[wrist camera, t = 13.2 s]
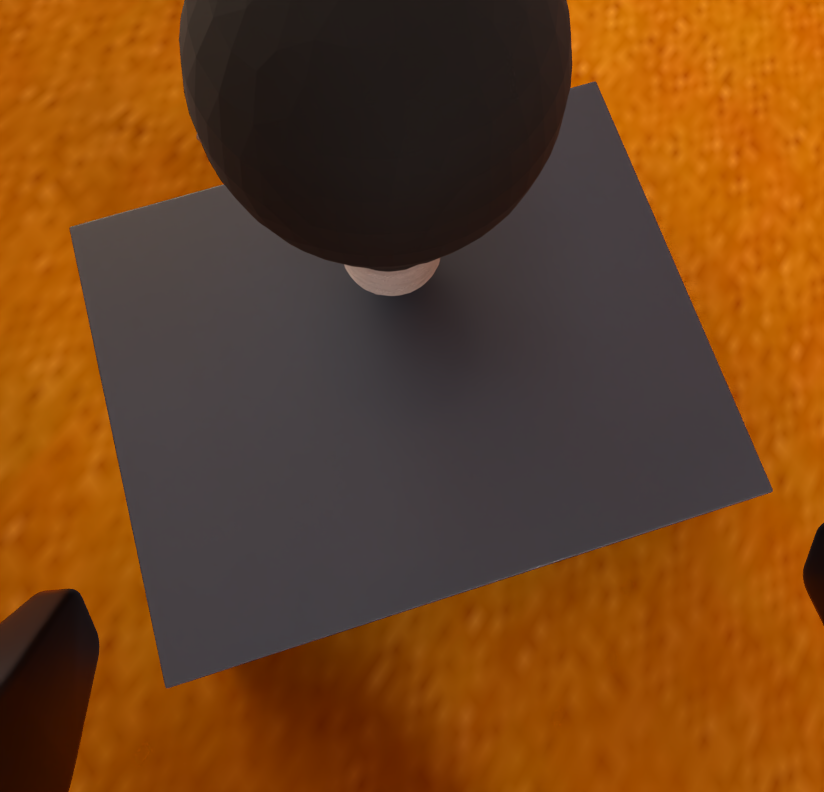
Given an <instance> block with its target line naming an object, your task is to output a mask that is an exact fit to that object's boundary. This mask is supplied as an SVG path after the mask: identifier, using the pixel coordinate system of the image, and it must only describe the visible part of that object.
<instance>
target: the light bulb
mask: <svg viewBox="0 0 824 792" xmlns="http://www.w3.org/2000/svg"><path fill="white" fill-rule="evenodd" d="M179 43H180V56H181V67H182V76H183V85H184V93H185V98H186V102H187V106H188V110H189V114H190V117H191V119H192V122H193V124H194V126H195V129H196V131H197V134H198V136H199V139H200V141H201V143H202V146H203V148H204V150H205V152H206V155H207V157H208V159H209V161H210V163H211V165H212V166H213V168H214V170H215V171H216V173H217V175H218V176H219V178H220V180H221V181H222V182H223V183H224V185H225V186H226V187H227V188H228V190H229V191H230V192H231V193H232V195H233V196H234V197H235V198H236V199H237V200H238V201H239V203H240V204H241V205H242V206H243V207H244V208H245V209H246V210H247V211H248V212H249V213H250V214H251V215H252V216H253V217H254V218H255V219H256V220H257V221H258V222H259V223H261V224H262V225H263V226H265V227H266V228H268V229H269V230H271V231H272V232H273V233H275V234H276V235H278V236H279V237H280V238H282V239H283V240H285V241H286V242H287V243H289V244H290V245H292V246H294V247H296V248H298V249H300V250H302V251H304V252H307V253H309V254H312V255H314V256H317V257H319V258H322V259H324V260H328V261H332V262H336V263H340V264H344V265H345V268H346V270H347V272H348V273H349V275H350V276H351V278H352V279H353V280H354V281H355V282H356V283H357V284H358V285H359V286H361V287H362V288H363V289H365V290H367V291H369V292H372V293H374V294H378V295H385V296H399V295H404V294H407V293H411V292H413V291H415V290H416V289H418V288H420V287H422V286H423V285H424V284H425V283H426V282H427V281H428V280H429V279H430V278H431V277H432V276H433V274H434V272H435V270H436V269H437V267H438V265H439V262H440V258H441V257H443V256H446V255H449V254H451V253H453V252H455V251H457V250H459V249H461V248H463V247H465V246H467V245H468V244H470V243H472V242H474V241H476V240H477V239H479V238H481V237H482V236H484V235H485V234H486V233H488V232H489V231H490V230H492V229H493V228H494V227H495V226H496V225H497V224H499V223H500V222H501V221H502V220H503V219H504V218H506V217H507V216H508V215H509V214H510V213H511V212H512V211H513V209H514V208H515V207H516V206H517V204H518V203H519V202H520V201H521V199H522V198H523V197H524V196H525V195H526V193H527V192H528V191H529V189H530V188H531V186H532V185H533V183H534V182H535V180H536V179H537V177H538V176H539V174H540V173H541V171H542V169H543V167H544V166H545V164H546V162H547V160H548V159H549V157H550V155H551V153H552V150H553V147H554V145H555V142H556V140H557V137H558V135H559V131H560V127H561V123H562V120H563V116H564V112H565V108H566V104H567V99H568V95H569V91H570V86H571V73H572V51H571V30H570V18H569V10H568V5H567V1H566V0H185V1H184V6H183V10H182V14H181V21H180V35H179Z"/></svg>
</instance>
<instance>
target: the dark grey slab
mask: <svg viewBox="0 0 824 792" xmlns="http://www.w3.org/2000/svg"><path fill="white" fill-rule="evenodd" d="M70 233H71V238H72V242H73V247H74V252H75V257H76V262H77V266H78V271H79V276H80V281H81V285H82V290H83V295H84V300H85V305H86V309H87V314H88V319H89V324H90V329H91V333H92V338H93V343H94V348H95V352H96V357H97V362H98V367H99V372H100V376H101V381H102V386H103V391H104V396H105V400H106V405H107V410H108V415H109V420H110V424H111V429H112V434H113V439H114V443H115V448H116V453H117V458H118V463H119V467H120V472H121V477H122V482H123V487H124V491H125V496H126V501H127V506H128V510H129V515H130V520H131V525H132V530H133V534H134V539H135V544H136V549H137V554H138V558H139V563H140V568H141V573H142V578H143V582H144V587H145V592H146V597H147V601H148V606H149V611H150V616H151V621H152V625H153V630H154V635H155V640H156V645H157V649H158V654H159V659H160V664H161V668H162V673H163V678H164V683H165V687H166V688H170V687H173V686H176V685H180V684H183V683H186V682H189V681H192V680H195V679H198V678H201V677H204V676H207V675H210V674H213V673H216V672H220V671H223V670H226V669H229V668H232V667H235V666H238V665H241V664H244V663H247V662H250V661H253V660H257V659H260V658H263V657H266V656H269V655H272V654H275V653H278V652H281V651H284V650H287V649H290V648H293V647H297V646H300V645H303V644H306V643H309V642H312V641H315V640H318V639H321V638H324V637H327V636H330V635H333V634H337V633H340V632H343V631H346V630H349V629H352V628H355V627H358V626H361V625H364V624H367V623H370V622H373V621H377V620H380V619H383V618H386V617H389V616H392V615H395V614H398V613H401V612H404V611H407V610H410V609H414V608H417V607H420V606H423V605H426V604H429V603H432V602H435V601H438V600H441V599H444V598H447V597H450V596H454V595H457V594H460V593H463V592H466V591H469V590H472V589H475V588H478V587H481V586H484V585H487V584H490V583H494V582H497V581H500V580H503V579H506V578H509V577H512V576H515V575H518V574H521V573H524V572H527V571H531V570H534V569H537V568H540V567H543V566H546V565H549V564H552V563H555V562H558V561H561V560H564V559H567V558H571V557H574V556H577V555H580V554H583V553H586V552H589V551H592V550H595V549H598V548H601V547H604V546H607V545H611V544H614V543H617V542H620V541H623V540H626V539H629V538H632V537H635V536H638V535H641V534H644V533H647V532H651V531H654V530H657V529H660V528H663V527H666V526H669V525H672V524H675V523H678V522H681V521H684V520H688V519H691V518H694V517H697V516H700V515H703V514H706V513H709V512H712V511H715V510H718V509H721V508H724V507H728V506H731V505H734V504H737V503H740V502H743V501H746V500H749V499H752V498H755V497H758V496H761V495H764V494H768V493H771V492H772V491H773V489H772V487H771V485H770V482H769V480H768V478H767V475H766V473H765V471H764V468H763V466H762V464H761V462H760V459H759V457H758V455H757V452H756V450H755V448H754V445H753V443H752V441H751V438H750V436H749V434H748V432H747V429H746V427H745V425H744V422H743V420H742V418H741V415H740V413H739V411H738V408H737V406H736V404H735V402H734V399H733V397H732V395H731V392H730V390H729V388H728V385H727V383H726V381H725V378H724V376H723V374H722V372H721V369H720V367H719V365H718V362H717V360H716V358H715V355H714V353H713V351H712V348H711V346H710V344H709V342H708V339H707V337H706V335H705V332H704V330H703V328H702V325H701V323H700V321H699V318H698V316H697V314H696V312H695V309H694V307H693V305H692V302H691V300H690V298H689V295H688V293H687V291H686V288H685V286H684V284H683V282H682V279H681V277H680V275H679V272H678V270H677V268H676V265H675V263H674V261H673V258H672V256H671V254H670V252H669V249H668V247H667V245H666V242H665V240H664V238H663V235H662V233H661V231H660V228H659V226H658V224H657V222H656V219H655V217H654V215H653V212H652V210H651V208H650V205H649V203H648V201H647V198H646V196H645V194H644V192H643V189H642V187H641V185H640V182H639V180H638V178H637V175H636V173H635V171H634V168H633V166H632V164H631V162H630V159H629V157H628V155H627V152H626V150H625V148H624V145H623V143H622V141H621V138H620V136H619V134H618V131H617V129H616V127H615V125H614V122H613V120H612V118H611V115H610V113H609V111H608V108H607V106H606V104H605V101H604V99H603V97H602V95H601V92H600V90H599V88H598V85H597V83H596V82H591V83H588V84H584V85H580V86H577V87H573V88H570V91H569V95H568V99H567V104H566V108H565V112H564V116H563V120H562V123H561V127H560V131H559V135H558V137H557V140H556V142H555V145H554V147H553V150H552V153H551V155H550V157H549V159H548V160H547V162H546V164H545V166H544V167H543V169H542V171H541V173H540V174H539V176H538V177H537V179H536V180H535V182H534V183H533V185H532V186H531V188H530V189H529V191H528V192H527V193H526V195H525V196H524V197H523V198H522V199H521V201H520V202H519V203H518V204H517V206H516V207H515V208H514V209H513V211H512V212H511V213H510V214H509V215H508V216H507V217H506V218H504V219H503V220H502V221H501V222H500V223H499V224H497V225H496V226H495V227H494V228H493V229H492V230H490V231H489V232H488V233H486V234H485V235H484V236H482V237H481V238H479V239H477V240H476V241H474V242H472V243H470V244H468V245H467V246H465V247H463V248H461V249H459V250H457V251H455V252H453V253H451V254H449V255H446V256H443V257H441V258H440V262H439V265H438V267H437V269H436V270H435V272H434V274H433V276H432V277H431V278H430V279H429V280H428V281H427V282H426V283H425V284H424V285H423V286H422V287H420V288H418V289H416V290H415V291H413V292H411V293H407V294H404V295H399V296H385V295H378V294H374V293H372V292H369V291H367V290H365V289H363V288H362V287H361V286H359V285H358V284H357V283H356V282H355V281H354V280H353V279H352V278H351V276H350V275H349V273H348V272H347V270H346V268H345V265H344V264H340V263H336V262H332V261H328V260H324V259H322V258H319V257H317V256H314V255H312V254H309V253H307V252H304V251H302V250H300V249H298V248H296V247H294V246H292V245H290V244H289V243H287V242H286V241H285V240H283V239H282V238H280V237H279V236H278V235H276V234H275V233H273V232H272V231H271V230H269V229H268V228H266V227H265V226H263V225H262V224H261V223H259V222H258V221H257V220H256V219H255V218H254V217H253V216H252V215H251V214H250V213H249V212H248V211H247V210H246V209H245V208H244V207H243V206H242V205H241V204H240V203H239V201H238V200H237V199H236V198H235V197H234V196H233V195H232V193H231V192H230V191H229V190H228V188H227V187H226V186H225V185H224V184H223V185H220V186H216V187H213V188H209V189H205V190H202V191H198V192H195V193H191V194H187V195H184V196H180V197H177V198H173V199H169V200H166V201H162V202H159V203H155V204H151V205H148V206H144V207H141V208H137V209H133V210H130V211H126V212H123V213H119V214H115V215H112V216H108V217H105V218H101V219H97V220H94V221H90V222H86V223H83V224H79V225H76V226H72V227H70Z"/></svg>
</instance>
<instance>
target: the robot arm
mask: <svg viewBox="0 0 824 792" xmlns="http://www.w3.org/2000/svg"><path fill="white" fill-rule="evenodd" d="M803 580H804V584H805V588H806V590H807V592H808V594H809V597H810V599H811V601H812V603H813V605H814V607H815V609H816V611H817V613H818V615H819V617H820V619H821V621H822V623H823V625H824V523H823V524H822V525H821V526H820V527H819V528H818V530H817V532H816V535H815V537H814V540H813V543H812V546H811V549H810V551H809V554H808V557H807V560H806V563H805V565H804V569H803ZM98 655H99V638H98V634H97V631H96V629H95V627H94V624H93V622H92V619H91V617H90V615H89V612H88V610H87V608H86V605H85V603H84V601H83V598H82V596H81V595H80V593H79V592H78V591H76V590H74V589H61V590H50V591H42V592H39V593H37V594H35V595H34V596H33V597H31V598H30V599H29V600H28V601H26V602H25V603H24V604H23V605H22V606H20V607H19V608H18V609H17V610H16V611H15V612H13V613H12V614H11V615H10V616H9V617H7V618H6V619H5V620H4V621H3V622H1V623H0V792H68V791H69V788H70V784H71V780H72V776H73V772H74V768H75V763H76V759H77V754H78V749H79V745H80V740H81V735H82V731H83V726H84V721H85V716H86V712H87V707H88V702H89V698H90V693H91V688H92V684H93V679H94V674H95V670H96V665H97V660H98Z"/></svg>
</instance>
